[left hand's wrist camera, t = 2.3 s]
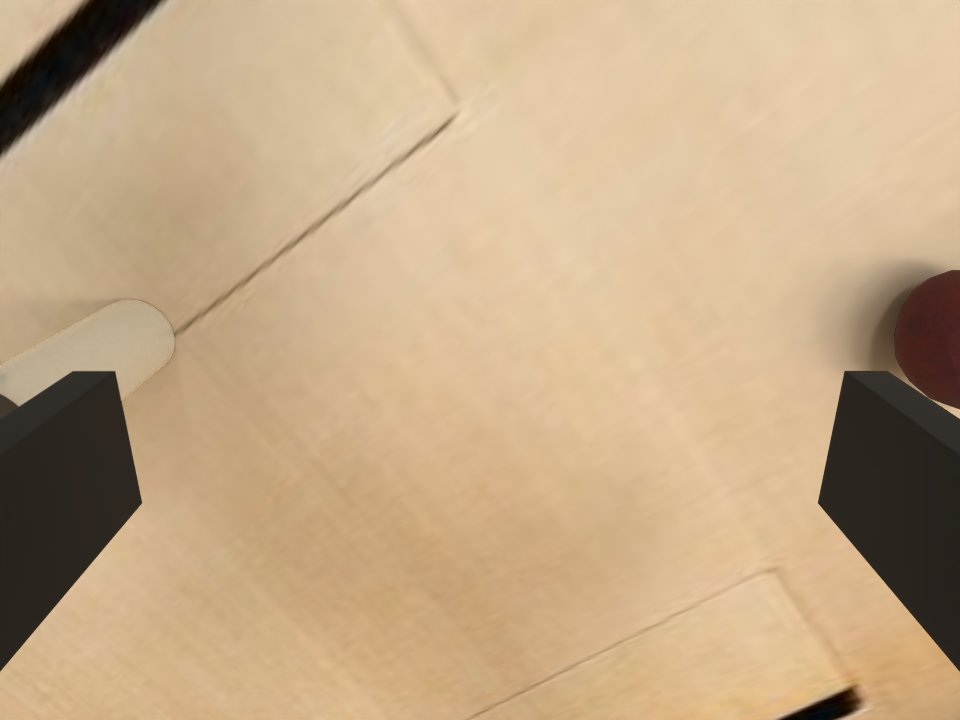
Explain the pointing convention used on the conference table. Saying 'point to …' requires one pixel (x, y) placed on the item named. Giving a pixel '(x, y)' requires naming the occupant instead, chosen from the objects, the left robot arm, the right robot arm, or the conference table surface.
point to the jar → (94, 351)
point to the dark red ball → (932, 338)
